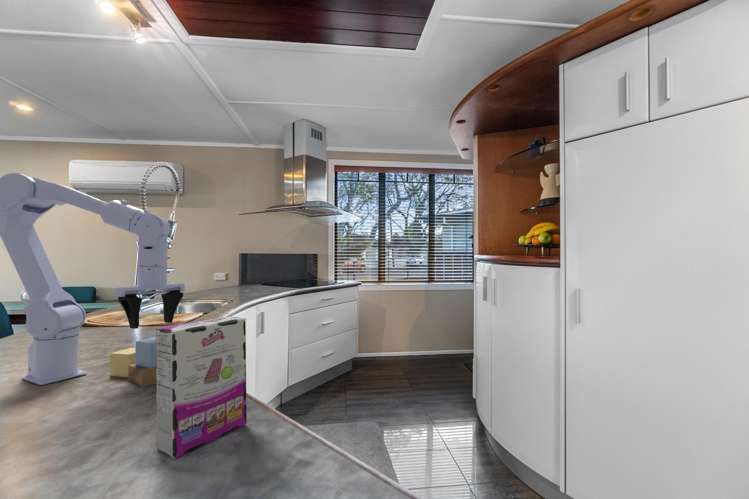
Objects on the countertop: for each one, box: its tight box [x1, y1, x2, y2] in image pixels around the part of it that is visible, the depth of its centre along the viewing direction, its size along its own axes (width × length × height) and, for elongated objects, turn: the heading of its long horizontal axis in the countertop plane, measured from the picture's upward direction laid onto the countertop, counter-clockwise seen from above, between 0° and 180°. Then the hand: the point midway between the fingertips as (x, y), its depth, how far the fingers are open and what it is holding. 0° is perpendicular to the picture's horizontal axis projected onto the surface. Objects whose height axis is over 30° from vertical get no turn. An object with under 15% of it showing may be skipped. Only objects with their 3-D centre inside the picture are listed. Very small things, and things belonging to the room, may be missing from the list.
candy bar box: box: [155, 315, 247, 460], centre depth 50 cm, size 11×5×16 cm, turn 148°
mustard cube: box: [109, 347, 136, 378], centre depth 78 cm, size 5×5×5 cm
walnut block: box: [127, 364, 157, 388], centre depth 74 cm, size 7×7×4 cm
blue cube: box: [135, 336, 156, 368], centre depth 75 cm, size 5×5×5 cm
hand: (151, 325), depth 80 cm, fingers open, 7 cm apart
